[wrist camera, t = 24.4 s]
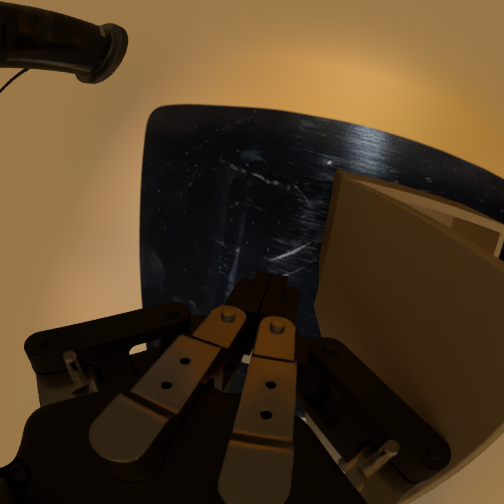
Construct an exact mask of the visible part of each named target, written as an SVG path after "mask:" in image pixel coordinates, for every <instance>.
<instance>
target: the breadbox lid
mask: <svg viewBox="0 0 504 504" xmlns="http://www.w3.org/2000/svg"><path fill="white" fill-rule="evenodd" d="M314 309H315V312H316V316H317V320H318V324H319V328H320V332H321V336H322V337H330V338H334V339H337V340H339V341H341V342H342V343H343V344H344V345H345V346H347V347H348V348H349V349H350V350H351V351H352V352H353V353H354V354H355V355H356V356H357V357H358V358H359V359H360V360H361V361H362V362H363V363H364V364H365V365H366V366H368V367H369V368H370V369H371V370H372V371H373V372H374V373H375V374H376V375H377V376H378V377H379V378H380V379H381V380H382V381H383V382H384V383H385V384H386V385H387V386H389V387H390V388H391V389H392V390H393V391H394V392H395V393H396V394H397V395H398V396H399V397H400V398H401V399H402V400H403V401H404V402H405V403H406V404H408V405H409V406H410V407H411V408H412V409H413V410H414V411H415V412H416V413H417V414H418V415H419V416H420V417H421V418H422V419H423V420H424V421H425V422H427V423H428V424H429V425H430V426H431V427H432V428H433V429H434V430H435V431H436V432H437V433H438V434H439V435H440V436H441V437H442V438H443V439H445V440H446V442H447V443H448V445H449V447H450V450H451V459H450V462H449V464H448V465H447V466H446V467H445V468H444V469H443V470H441V471H440V472H439V473H437V474H436V475H435V476H433V477H432V478H430V479H429V480H427V481H426V482H425V483H423V484H422V485H420V486H419V487H417V488H415V489H414V490H412V491H411V492H410V493H409V494H408V495H406V496H405V497H404V498H403V499H402V500H401V501H400V502H399V503H397V504H409V503H410V502H412V501H414V500H416V499H418V498H419V497H421V496H422V495H424V494H426V493H428V492H429V491H431V490H433V489H434V488H436V487H437V486H439V485H440V484H442V483H443V482H445V481H446V480H448V479H449V478H450V477H452V476H453V475H455V474H456V473H457V472H459V471H460V470H461V469H463V468H464V467H465V466H466V465H468V464H469V463H470V462H471V461H473V460H474V459H475V458H476V457H478V456H479V455H480V454H481V453H482V452H483V451H485V450H486V449H487V448H488V447H489V446H490V445H491V444H492V443H493V442H494V441H495V440H496V439H498V438H499V437H500V436H501V435H502V434H503V433H504V262H503V261H501V260H500V259H498V258H497V257H495V256H494V255H492V254H491V253H489V252H488V251H486V250H485V249H483V248H482V247H480V246H479V245H477V244H476V243H474V242H473V241H471V240H469V239H468V238H466V237H464V236H463V235H461V234H459V233H458V232H456V231H454V230H453V229H451V228H449V227H448V226H446V225H444V224H442V223H441V222H439V221H437V220H435V219H433V218H431V217H430V216H428V215H426V214H424V213H422V212H420V211H418V210H416V209H414V208H413V207H411V206H409V205H407V204H405V203H403V202H401V201H399V200H397V199H394V198H392V197H390V196H388V195H386V194H384V193H382V192H380V191H377V190H375V189H373V188H371V187H369V186H366V185H364V184H362V183H360V182H357V181H355V180H353V179H348V178H342V179H341V185H340V191H339V196H338V202H337V207H336V212H335V217H334V222H333V227H332V232H331V237H330V241H329V246H328V251H327V255H326V259H325V264H324V268H323V272H322V276H321V280H320V284H319V288H318V292H317V296H316V300H315V304H314ZM338 396H339V395H338ZM339 397H340V396H339ZM340 398H341V397H340Z"/></svg>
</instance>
